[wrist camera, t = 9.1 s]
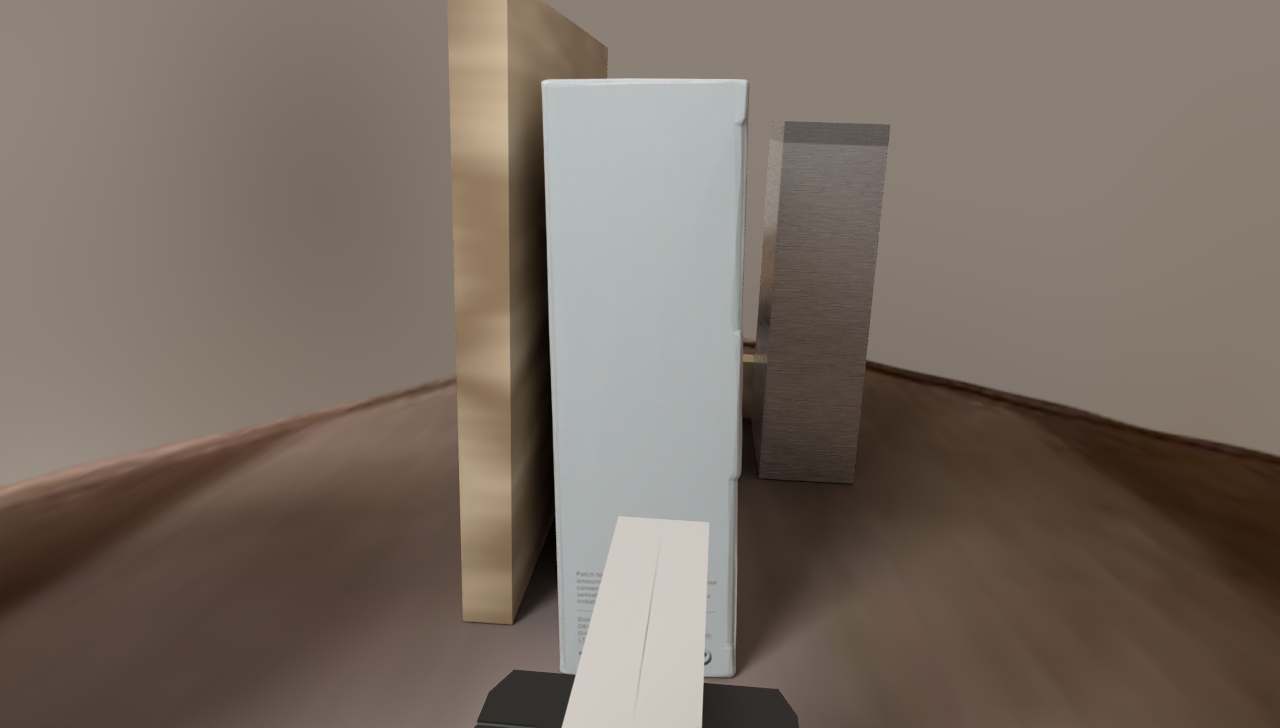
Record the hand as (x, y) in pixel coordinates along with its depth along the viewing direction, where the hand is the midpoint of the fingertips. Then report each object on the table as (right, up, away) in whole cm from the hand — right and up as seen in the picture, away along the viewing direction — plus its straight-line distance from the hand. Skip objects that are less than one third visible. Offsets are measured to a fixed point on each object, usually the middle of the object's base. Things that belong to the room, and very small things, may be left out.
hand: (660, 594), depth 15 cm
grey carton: (+7, 0, +27) cm, 28 cm away
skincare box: (0, -2, +19) cm, 20 cm away
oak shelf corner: (+1, -1, +22) cm, 22 cm away
